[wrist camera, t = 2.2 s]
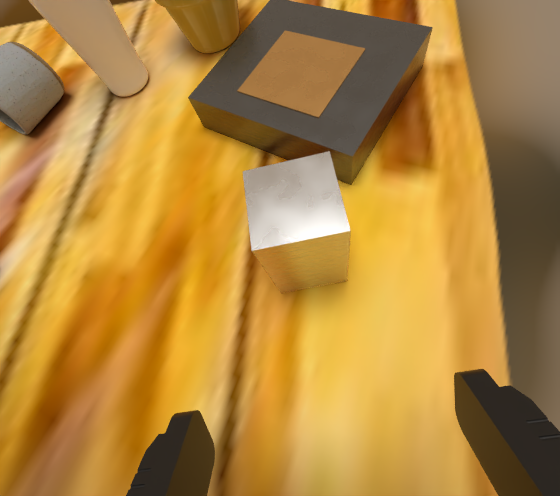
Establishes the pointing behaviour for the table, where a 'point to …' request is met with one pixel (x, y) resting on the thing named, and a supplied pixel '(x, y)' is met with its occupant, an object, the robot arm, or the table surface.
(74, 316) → the table surface
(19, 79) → the ceramic mug
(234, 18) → the plant pot
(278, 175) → the aluminium block
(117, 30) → the white tube
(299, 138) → the steel plate
